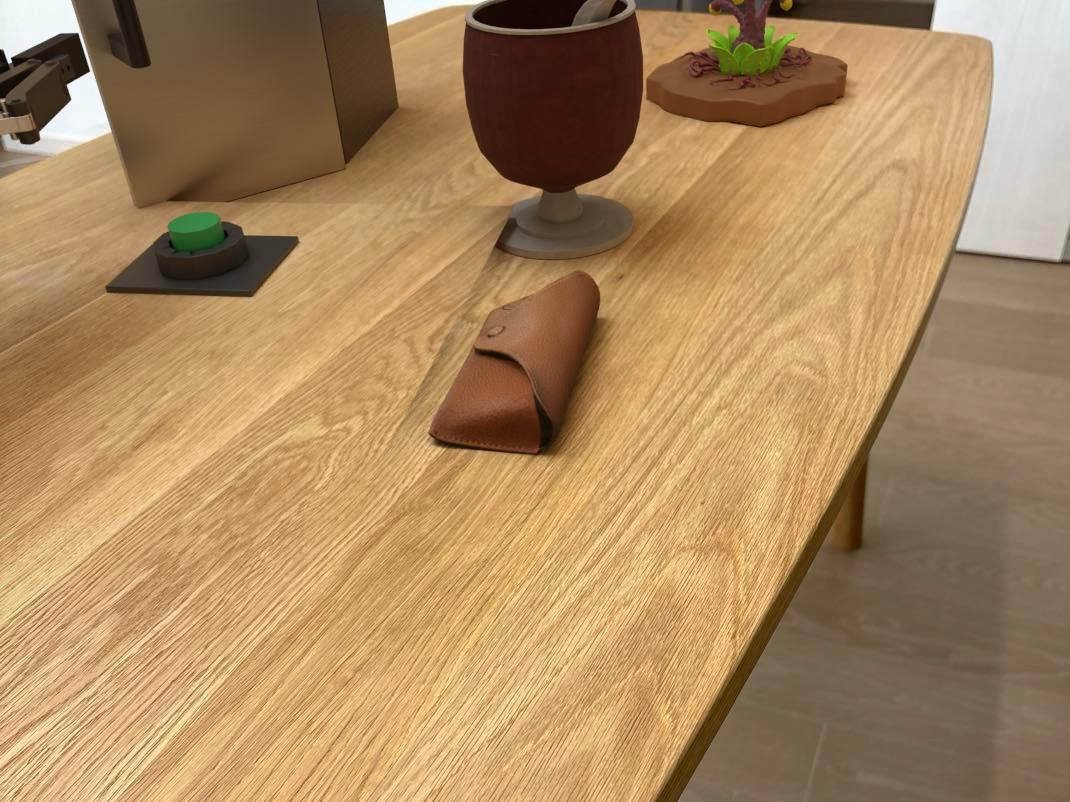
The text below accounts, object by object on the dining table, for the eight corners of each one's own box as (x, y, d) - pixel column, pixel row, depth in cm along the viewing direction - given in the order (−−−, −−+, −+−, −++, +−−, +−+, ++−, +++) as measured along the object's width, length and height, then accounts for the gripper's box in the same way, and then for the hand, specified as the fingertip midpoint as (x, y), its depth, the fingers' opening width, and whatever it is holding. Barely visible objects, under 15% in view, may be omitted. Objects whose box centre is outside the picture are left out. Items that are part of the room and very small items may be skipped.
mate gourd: (446, 232, 91) (415, -28, 79) (566, 185, 98) (555, -61, 85) (567, 285, 82) (554, 0, 69) (692, 230, 88) (699, -40, 76)
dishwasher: (346, 165, 106) (296, -122, 91) (158, 164, 110) (79, -111, 94) (399, 107, 119) (362, -150, 104) (230, 108, 123) (171, -140, 108)
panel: (113, 312, 83) (96, 264, 81) (171, 257, 91) (157, 212, 88) (256, 317, 81) (244, 268, 78) (303, 261, 88) (293, 214, 86)
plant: (614, 105, 115) (612, -9, 108) (715, 59, 126) (719, -47, 119) (777, 136, 105) (786, 12, 98) (871, 83, 116) (886, -32, 109)
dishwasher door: (373, 184, 101) (325, -111, 86) (164, 245, 93) (70, -71, 77) (340, 165, 106) (290, -119, 90) (139, 221, 97) (46, -81, 82)
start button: (164, 253, 82) (158, 231, 81) (187, 232, 85) (181, 211, 84) (212, 254, 82) (206, 232, 81) (233, 233, 85) (228, 212, 84)
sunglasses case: (486, 305, 79) (526, 231, 75) (569, 351, 80) (613, 281, 76) (422, 441, 65) (466, 360, 61) (523, 494, 66) (573, 419, 62)
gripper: (-201, 226, 65) (16, 105, 83) (-13, 228, 63) (169, 103, 81) (-267, 98, 60) (-22, -1, 78) (-66, 95, 58) (139, -6, 76)
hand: (75, 52), depth 79 cm, fingers closed
